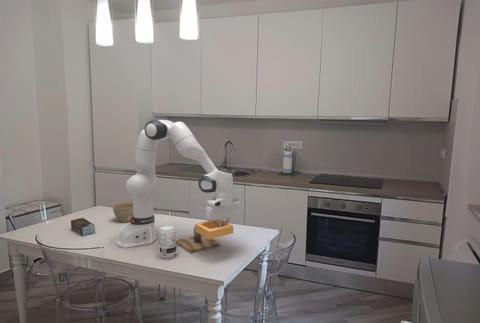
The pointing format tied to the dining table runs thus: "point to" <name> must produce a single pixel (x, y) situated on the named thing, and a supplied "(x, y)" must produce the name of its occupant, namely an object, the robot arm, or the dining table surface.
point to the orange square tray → (205, 228)
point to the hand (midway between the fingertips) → (223, 226)
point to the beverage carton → (83, 227)
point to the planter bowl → (123, 211)
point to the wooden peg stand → (197, 243)
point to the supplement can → (167, 242)
